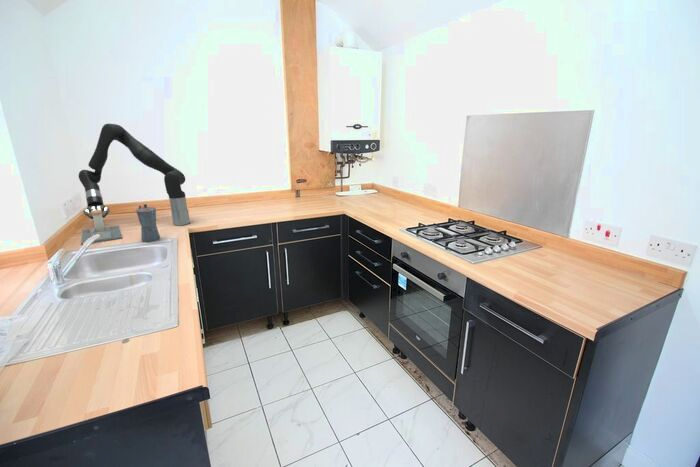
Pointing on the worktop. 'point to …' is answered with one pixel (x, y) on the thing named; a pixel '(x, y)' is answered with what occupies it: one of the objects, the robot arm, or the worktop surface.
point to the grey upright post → (98, 220)
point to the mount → (102, 233)
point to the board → (115, 236)
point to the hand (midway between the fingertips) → (99, 223)
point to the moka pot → (148, 223)
